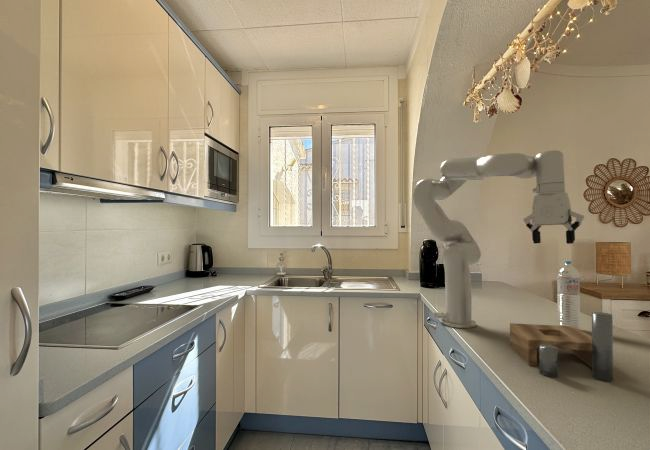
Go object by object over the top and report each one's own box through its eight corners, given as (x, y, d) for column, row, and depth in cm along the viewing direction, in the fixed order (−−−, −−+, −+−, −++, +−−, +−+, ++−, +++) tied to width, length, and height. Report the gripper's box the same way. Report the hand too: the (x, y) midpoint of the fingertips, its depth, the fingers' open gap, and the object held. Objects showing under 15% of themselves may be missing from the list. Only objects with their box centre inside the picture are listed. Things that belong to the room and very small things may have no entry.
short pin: (543, 376, 86) (542, 349, 86) (536, 370, 90) (536, 343, 90) (561, 378, 85) (560, 350, 85) (554, 371, 89) (553, 344, 89)
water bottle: (558, 330, 123) (558, 261, 123) (556, 325, 129) (555, 259, 129) (582, 333, 120) (581, 262, 120) (578, 328, 126) (577, 260, 126)
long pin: (597, 381, 83) (597, 315, 83) (589, 374, 87) (588, 311, 87) (616, 382, 82) (616, 316, 82) (607, 375, 86) (606, 312, 86)
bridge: (528, 365, 93) (528, 339, 93) (510, 345, 108) (509, 323, 108) (604, 370, 89) (604, 344, 89) (574, 349, 104) (573, 326, 104)
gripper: (517, 192, 115) (519, 243, 114) (576, 185, 100) (578, 244, 99) (529, 193, 118) (531, 242, 118) (587, 187, 104) (590, 243, 103)
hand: (553, 243), depth 109 cm, fingers open, 9 cm apart
